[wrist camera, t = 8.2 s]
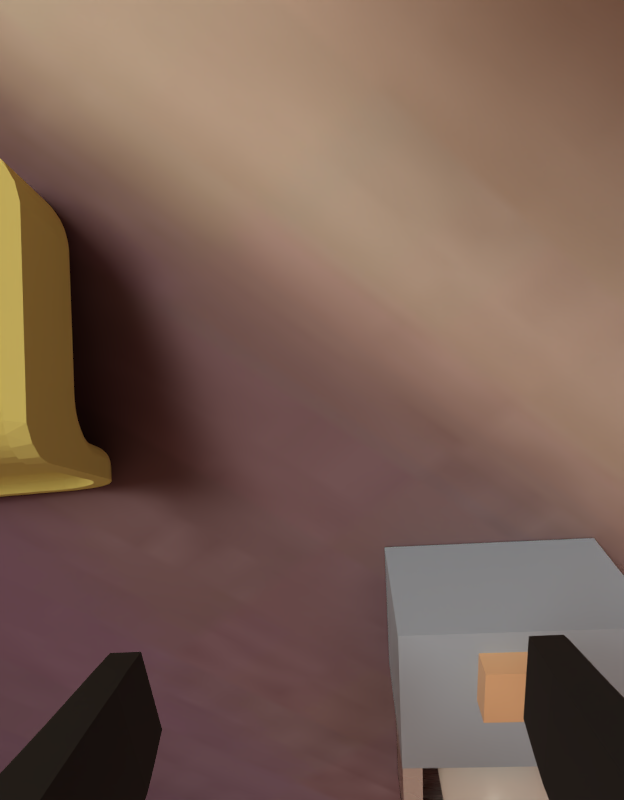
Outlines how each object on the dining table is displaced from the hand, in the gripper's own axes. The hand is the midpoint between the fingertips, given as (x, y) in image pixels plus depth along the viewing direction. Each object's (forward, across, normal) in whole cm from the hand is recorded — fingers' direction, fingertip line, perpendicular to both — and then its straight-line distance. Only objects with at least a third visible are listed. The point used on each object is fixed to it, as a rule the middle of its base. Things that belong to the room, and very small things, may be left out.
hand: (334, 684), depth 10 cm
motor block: (+10, -6, +7) cm, 14 cm away
